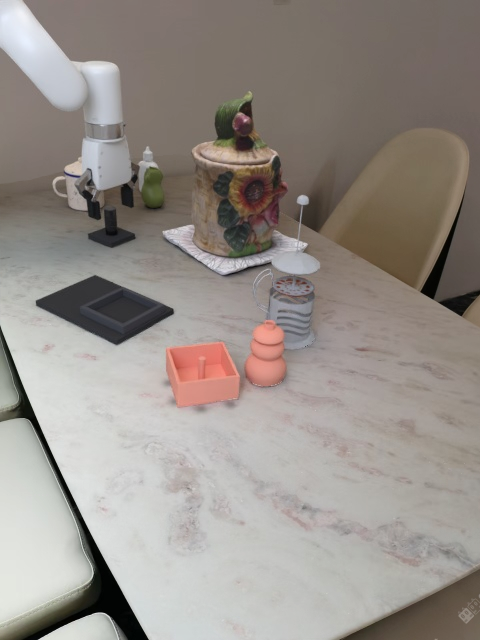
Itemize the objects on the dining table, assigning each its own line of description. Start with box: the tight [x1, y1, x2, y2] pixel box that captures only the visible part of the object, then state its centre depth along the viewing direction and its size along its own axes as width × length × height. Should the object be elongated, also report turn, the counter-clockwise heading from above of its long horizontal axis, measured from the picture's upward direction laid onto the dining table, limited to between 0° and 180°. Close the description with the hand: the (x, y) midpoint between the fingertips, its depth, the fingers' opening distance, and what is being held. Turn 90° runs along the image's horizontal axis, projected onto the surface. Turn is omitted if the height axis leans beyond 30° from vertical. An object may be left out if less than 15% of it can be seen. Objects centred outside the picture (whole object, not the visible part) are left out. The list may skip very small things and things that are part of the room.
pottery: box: [165, 319, 288, 408], centre depth 89 cm, size 18×10×10 cm, turn 108°
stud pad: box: [87, 205, 136, 249], centre depth 131 cm, size 7×7×7 cm
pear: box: [140, 166, 165, 209], centre depth 148 cm, size 6×5×10 cm
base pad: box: [35, 274, 175, 346], centre depth 106 cm, size 20×14×2 cm
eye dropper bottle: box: [137, 146, 159, 193], centre depth 156 cm, size 4×6×12 cm
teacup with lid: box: [51, 156, 105, 212], centre depth 144 cm, size 12×9×12 cm
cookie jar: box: [162, 91, 309, 276], centre depth 126 cm, size 25×25×32 cm
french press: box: [252, 194, 321, 351], centre depth 98 cm, size 10×12×25 cm
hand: (111, 212), depth 129 cm, fingers open, 9 cm apart
